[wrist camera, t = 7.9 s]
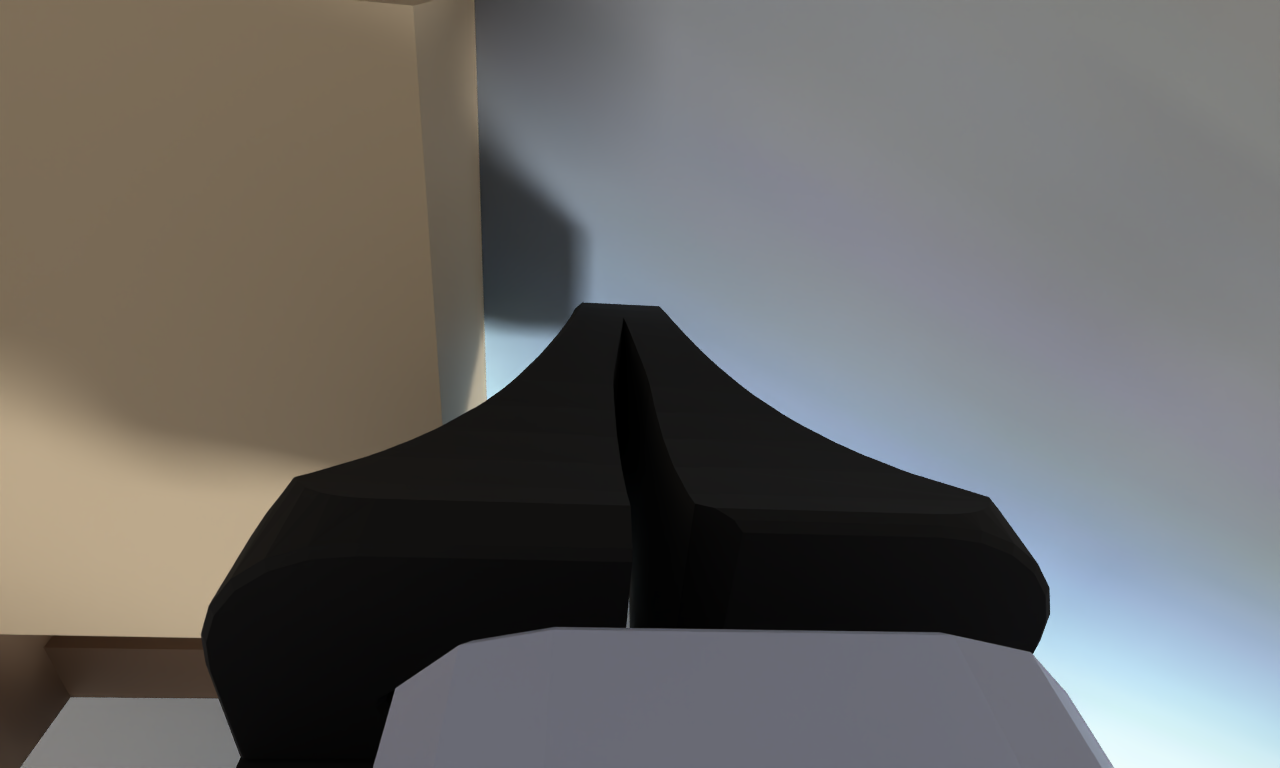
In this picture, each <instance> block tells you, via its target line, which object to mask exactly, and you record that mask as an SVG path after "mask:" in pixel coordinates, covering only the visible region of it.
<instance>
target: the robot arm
mask: <svg viewBox="0 0 1280 768" xmlns="http://www.w3.org/2000/svg"><path fill="white" fill-rule="evenodd" d="M628 601H629V604H630V628H626V622H627V612H628ZM1049 615H1050V593H1049V586H1048V584H1047V582H1046V580H1045V578H1044V576H1043V574H1042V572H1041V570H1040V567H1039V565H1038V563H1037V562H1036V561H1035V559H1034V558H1033V557H1032V555H1031V554H1030V552H1029V551H1028V550H1027V548H1026V547H1025V545H1024V544H1023V543H1022V541H1021V540H1020V538H1019V537H1018V536H1017V534H1016V533H1015V532H1014V530H1013V529H1012V527H1011V526H1010V525H1009V523H1008V522H1007V520H1006V519H1005V518H1004V516H1003V515H1002V513H1001V512H1000V511H999V509H998V508H997V507H996V506H995V504H994V503H993V502H992V500H991V499H990V498H989V497H987V496H983V495H980V494H977V493H973V492H970V491H967V490H964V489H960V488H957V487H954V486H951V485H947V484H944V483H941V482H937V481H934V480H931V479H928V478H924V477H921V476H918V475H914V474H911V473H909V472H906V471H903V470H900V469H898V468H895V467H893V466H890V465H887V464H885V463H882V462H880V461H877V460H875V459H872V458H870V457H867V456H864V455H862V454H860V453H857V452H855V451H853V450H851V449H849V448H846V447H844V446H842V445H840V444H837V443H835V442H833V441H831V440H829V439H827V438H825V437H823V436H822V435H820V434H818V433H816V432H814V431H812V430H810V429H808V428H806V427H804V426H802V425H800V424H799V423H797V422H795V421H793V420H792V419H790V418H788V417H786V416H785V415H783V414H782V413H780V412H779V411H777V410H775V409H774V408H772V407H771V406H769V405H768V404H766V403H765V402H763V401H762V400H760V399H759V398H757V397H756V396H754V395H753V394H752V393H750V392H749V391H748V390H746V389H745V388H743V387H742V386H741V385H740V384H738V383H737V382H736V381H735V380H734V379H732V378H731V377H730V376H729V375H728V374H726V373H725V372H724V371H723V370H722V369H720V368H719V367H718V366H717V365H716V364H715V363H714V362H713V361H711V360H710V359H709V358H708V357H707V356H706V355H705V354H704V353H703V352H702V351H701V350H700V349H699V348H698V347H697V346H696V345H695V344H694V343H693V342H692V341H691V340H690V339H689V338H688V337H687V336H686V335H685V334H684V333H683V332H682V331H681V329H680V328H679V327H678V326H677V325H676V324H675V323H674V322H673V321H672V320H671V318H670V317H669V316H668V315H667V314H666V313H665V312H664V311H663V310H662V309H661V308H660V307H659V306H641V305H621V304H601V303H581V304H580V305H579V306H578V307H577V308H575V310H574V312H573V314H572V315H571V317H570V319H569V320H568V321H567V323H566V324H565V326H564V327H563V328H562V330H561V331H560V332H559V334H558V335H557V336H556V337H555V338H554V339H553V341H552V342H551V343H550V344H549V345H548V346H547V347H546V349H545V350H544V351H543V352H542V353H541V354H540V355H539V356H538V357H537V358H536V359H535V360H534V361H533V362H532V363H531V364H530V365H529V366H528V367H527V368H526V369H525V370H524V371H523V372H522V373H521V374H520V375H519V376H517V377H516V378H515V379H514V380H513V381H512V382H511V383H509V384H508V385H507V386H506V387H505V388H503V389H502V390H501V391H499V392H498V393H496V394H495V395H494V396H492V397H491V398H489V399H488V400H486V401H485V402H483V403H482V404H480V405H478V406H477V407H475V408H473V409H471V410H469V411H468V412H466V413H464V414H462V415H460V416H459V417H457V418H455V419H453V420H451V421H449V422H448V423H446V424H444V425H442V426H440V427H438V428H436V429H434V430H432V431H430V432H428V433H425V434H423V435H421V436H419V437H416V438H414V439H412V440H409V441H407V442H404V443H402V444H399V445H397V446H394V447H391V448H389V449H386V450H384V451H381V452H378V453H375V454H372V455H369V456H366V457H363V458H360V459H356V460H353V461H349V462H346V463H343V464H339V465H336V466H332V467H329V468H326V469H322V470H319V471H316V472H312V473H308V474H304V475H300V476H296V477H294V478H293V479H292V480H291V482H290V483H289V485H288V486H287V487H286V489H285V490H284V491H283V493H282V494H281V495H280V496H279V498H278V499H277V500H276V501H275V503H274V504H273V505H272V506H271V508H270V509H269V510H268V512H267V513H266V514H265V516H264V517H263V519H262V520H261V522H260V523H259V525H258V526H257V528H256V529H255V531H254V532H253V534H252V535H251V537H250V538H249V540H248V542H247V543H246V545H245V546H244V548H243V550H242V551H241V553H240V555H239V556H238V558H237V560H236V561H235V563H234V565H233V566H232V568H231V570H230V571H229V573H228V574H227V576H226V578H225V579H224V581H223V583H222V584H221V586H220V588H219V589H218V591H217V593H216V594H215V596H214V598H213V599H212V601H211V602H210V604H209V606H208V610H207V613H206V617H205V621H204V624H203V628H202V631H201V639H202V645H203V651H204V657H205V663H206V666H207V669H208V672H209V674H210V677H211V680H212V682H213V685H214V687H215V690H216V693H217V695H218V698H219V701H220V703H221V706H222V709H223V711H224V714H225V717H226V719H227V722H228V725H229V727H230V730H231V733H232V735H233V738H234V741H235V743H236V746H237V749H238V751H239V754H240V756H241V758H240V760H239V762H238V765H237V767H236V768H1114V767H1113V765H1112V764H1111V762H1110V761H1109V759H1108V757H1107V756H1106V754H1105V753H1104V751H1103V750H1102V748H1101V746H1100V745H1099V743H1098V742H1097V740H1096V738H1095V737H1094V735H1093V734H1092V732H1091V731H1090V729H1089V727H1088V726H1087V724H1086V723H1085V721H1084V719H1083V718H1082V716H1081V715H1080V713H1079V711H1078V710H1077V708H1076V707H1075V705H1074V704H1073V702H1072V700H1071V699H1070V697H1069V696H1068V694H1067V693H1066V692H1065V690H1064V689H1063V688H1062V687H1061V686H1060V685H1059V684H1058V682H1057V681H1056V680H1055V679H1054V678H1053V677H1052V676H1051V675H1050V673H1049V672H1048V671H1047V670H1046V669H1045V668H1044V667H1043V666H1042V664H1041V663H1040V662H1039V661H1038V660H1037V659H1036V658H1035V656H1034V655H1033V653H1034V651H1035V649H1036V647H1037V646H1038V644H1039V642H1040V640H1041V637H1042V634H1043V631H1044V629H1045V626H1046V623H1047V620H1048V618H1049Z"/></svg>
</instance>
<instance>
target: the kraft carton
mask: <svg viewBox="0 0 1280 768" xmlns="http://www.w3.org/2000/svg"><path fill="white" fill-rule="evenodd" d="M486 400H487V395H486V362H485V330H484V297H483V265H482V232H481V200H480V167H479V135H478V102H477V70H476V37H475V5H474V0H0V634H14V635H70V636H126V637H181V638H201V631H202V628H203V624H204V621H205V617H206V613H207V610H208V606H209V604H210V602H211V601H212V599H213V598H214V596H215V594H216V593H217V591H218V589H219V588H220V586H221V584H222V583H223V581H224V579H225V578H226V576H227V574H228V573H229V571H230V570H231V568H232V566H233V565H234V563H235V561H236V560H237V558H238V556H239V555H240V553H241V551H242V550H243V548H244V546H245V545H246V543H247V542H248V540H249V538H250V537H251V535H252V534H253V532H254V531H255V529H256V528H257V526H258V525H259V523H260V522H261V520H262V519H263V517H264V516H265V514H266V513H267V512H268V510H269V509H270V508H271V506H272V505H273V504H274V503H275V501H276V500H277V499H278V498H279V496H280V495H281V494H282V493H283V491H284V490H285V489H286V487H287V486H288V485H289V483H290V482H291V480H292V479H293V478H294V477H296V476H300V475H304V474H308V473H312V472H316V471H319V470H322V469H326V468H329V467H332V466H336V465H339V464H343V463H346V462H349V461H353V460H356V459H360V458H363V457H366V456H369V455H372V454H375V453H378V452H381V451H384V450H386V449H389V448H391V447H394V446H397V445H399V444H402V443H404V442H407V441H409V440H412V439H414V438H416V437H419V436H421V435H423V434H425V433H428V432H430V431H432V430H434V429H436V428H438V427H440V426H442V425H444V424H446V423H448V422H449V421H451V420H453V419H455V418H457V417H459V416H460V415H462V414H464V413H466V412H468V411H469V410H471V409H473V408H475V407H477V406H478V405H480V404H482V403H483V402H485V401H486Z"/></svg>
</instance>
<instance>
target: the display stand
mask: <svg viewBox="0 0 1280 768" xmlns="http://www.w3.org/2000/svg"><path fill="white" fill-rule="evenodd" d="M70 697H121V698H218V695H217V693H216V690H215V687H214V685H213V682H212V680H211V677H210V674H209V672H208V669H207V666H206V663H205V657H204V651H203V645H202V639H201V638H181V637H126V636H70V635H14V634H0V768H20V767H21V765H22V764H23V762H24V761H25V760H26V758H27V757H28V756H29V754H30V753H31V751H32V750H33V749H34V747H35V746H36V744H37V743H38V742H39V740H40V739H41V737H42V736H43V735H44V733H45V732H46V730H47V729H48V728H49V726H50V725H51V724H52V722H53V721H54V719H55V718H56V717H57V715H58V714H59V712H60V711H61V710H62V708H63V707H64V705H65V704H66V703H67V701H68V700H69V698H70Z"/></svg>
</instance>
